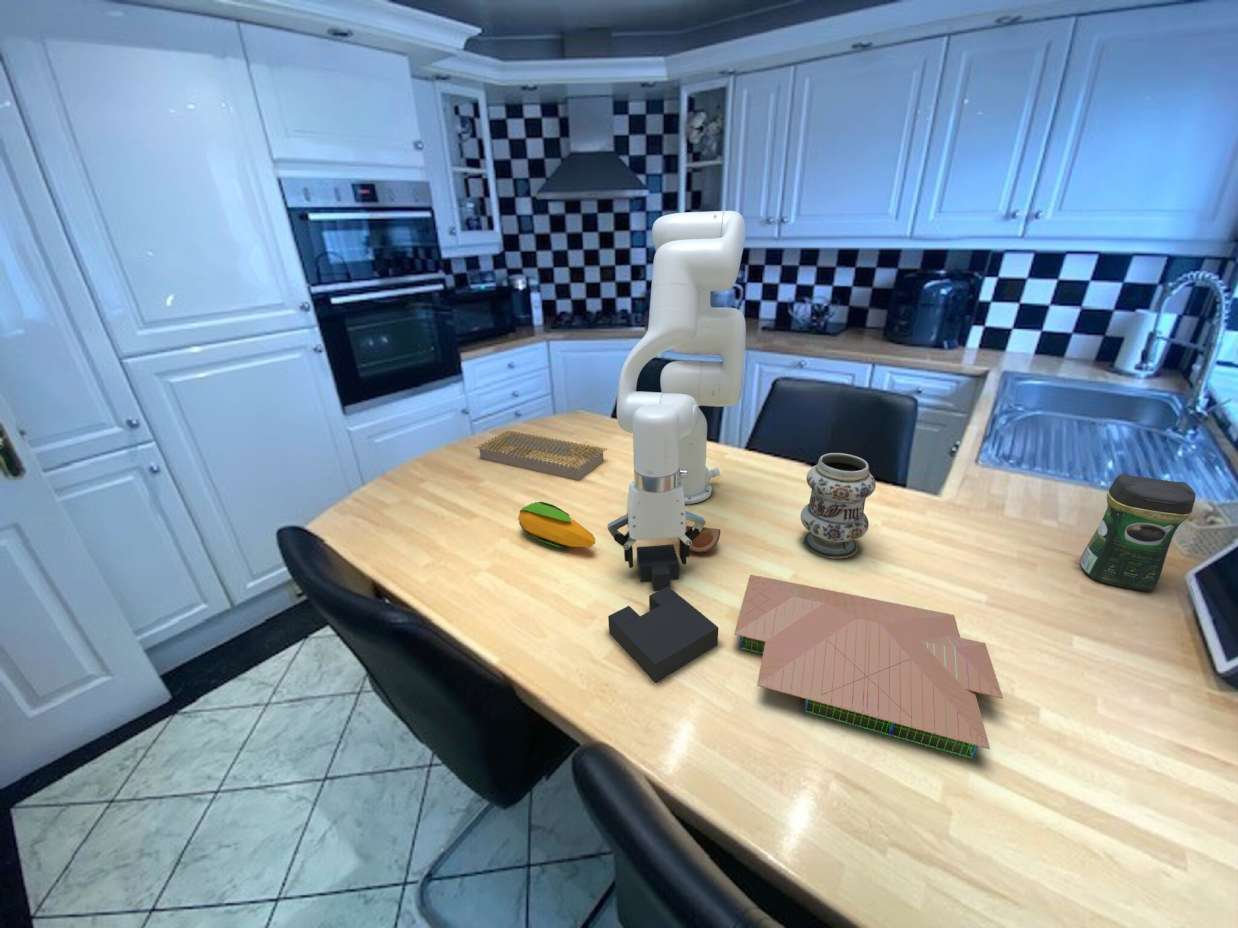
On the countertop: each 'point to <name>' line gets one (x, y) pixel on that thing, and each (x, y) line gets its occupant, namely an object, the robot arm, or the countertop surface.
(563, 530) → the corn
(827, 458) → the apothecary jar
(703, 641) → the notch pad
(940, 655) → the house
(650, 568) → the tab pad
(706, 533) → the fruit slice
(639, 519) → the robot arm
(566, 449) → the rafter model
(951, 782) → the countertop surface
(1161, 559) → the coffee jar
